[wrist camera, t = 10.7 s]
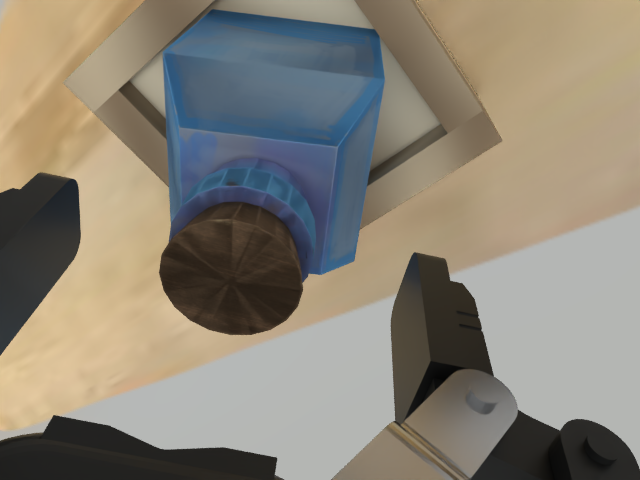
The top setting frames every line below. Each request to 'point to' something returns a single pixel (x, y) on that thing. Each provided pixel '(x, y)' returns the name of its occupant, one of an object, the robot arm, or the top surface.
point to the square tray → (317, 6)
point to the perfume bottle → (264, 162)
